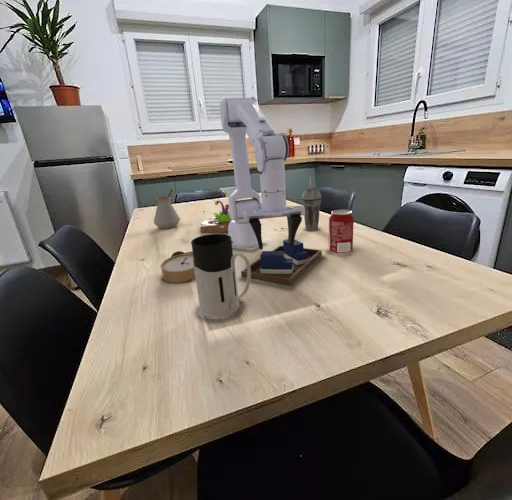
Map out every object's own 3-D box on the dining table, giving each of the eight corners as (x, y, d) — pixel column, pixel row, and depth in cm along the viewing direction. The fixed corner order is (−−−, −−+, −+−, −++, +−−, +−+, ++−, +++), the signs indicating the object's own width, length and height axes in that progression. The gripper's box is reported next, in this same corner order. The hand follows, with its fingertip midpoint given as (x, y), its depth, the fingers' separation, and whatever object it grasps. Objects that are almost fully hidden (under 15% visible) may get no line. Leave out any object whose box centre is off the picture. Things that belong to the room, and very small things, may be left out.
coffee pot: (177, 229, 127) (171, 194, 122) (151, 230, 128) (144, 196, 123) (188, 217, 147) (184, 187, 143) (166, 219, 148) (160, 189, 143)
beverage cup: (324, 227, 113) (324, 173, 107) (317, 232, 108) (317, 176, 101) (306, 225, 117) (305, 174, 111) (298, 230, 112) (297, 176, 105)
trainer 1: (260, 273, 74) (259, 255, 73) (262, 267, 78) (261, 250, 76) (292, 273, 73) (291, 255, 71) (293, 268, 76) (293, 250, 74)
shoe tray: (241, 279, 74) (240, 271, 73) (280, 252, 90) (279, 245, 90) (289, 289, 67) (289, 279, 66) (321, 257, 84) (321, 250, 83)
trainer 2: (282, 256, 85) (282, 240, 83) (293, 253, 86) (292, 238, 84) (297, 265, 78) (297, 247, 76) (308, 262, 79) (308, 245, 77)
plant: (209, 221, 136) (206, 197, 132) (251, 220, 133) (249, 195, 129) (195, 234, 117) (191, 206, 114) (243, 232, 114) (240, 203, 111)
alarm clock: (153, 273, 74) (172, 244, 87) (158, 289, 76) (175, 259, 89) (197, 272, 72) (209, 243, 85) (200, 288, 75) (212, 257, 88)
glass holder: (222, 295, 66) (214, 230, 62) (270, 315, 57) (265, 241, 52) (189, 311, 61) (178, 241, 56) (236, 337, 51) (227, 256, 46)
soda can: (353, 255, 83) (355, 214, 79) (328, 255, 85) (329, 214, 81) (351, 248, 89) (352, 208, 86) (328, 248, 91) (328, 209, 87)
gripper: (244, 196, 64) (249, 255, 68) (308, 190, 66) (309, 247, 70) (240, 191, 71) (245, 245, 75) (299, 186, 72) (300, 239, 77)
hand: (275, 246), depth 73 cm, fingers open, 7 cm apart
